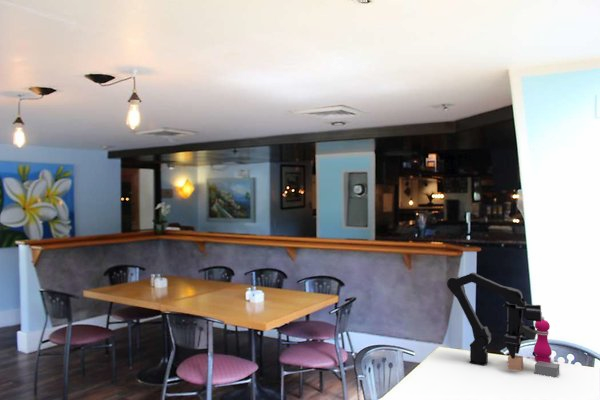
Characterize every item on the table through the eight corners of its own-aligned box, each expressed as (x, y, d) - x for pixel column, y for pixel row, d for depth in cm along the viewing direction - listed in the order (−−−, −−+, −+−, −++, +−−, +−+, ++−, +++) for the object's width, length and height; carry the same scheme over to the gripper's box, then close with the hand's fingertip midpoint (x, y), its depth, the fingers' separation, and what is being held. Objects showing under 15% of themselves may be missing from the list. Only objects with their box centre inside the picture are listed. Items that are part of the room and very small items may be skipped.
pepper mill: (555, 363, 208) (554, 318, 209) (538, 363, 208) (537, 317, 209) (546, 359, 215) (546, 314, 216) (530, 358, 215) (530, 314, 216)
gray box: (534, 374, 193) (534, 364, 194) (537, 370, 199) (537, 360, 199) (556, 378, 189) (556, 368, 189) (559, 374, 194) (559, 364, 194)
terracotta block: (508, 368, 200) (508, 357, 200) (510, 366, 204) (510, 354, 204) (520, 371, 197) (520, 359, 197) (523, 368, 201) (522, 356, 201)
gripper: (532, 325, 189) (532, 364, 189) (538, 318, 205) (539, 354, 204) (502, 321, 196) (502, 359, 195) (511, 314, 211) (511, 350, 210)
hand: (515, 356), depth 201 cm, fingers open, 9 cm apart
